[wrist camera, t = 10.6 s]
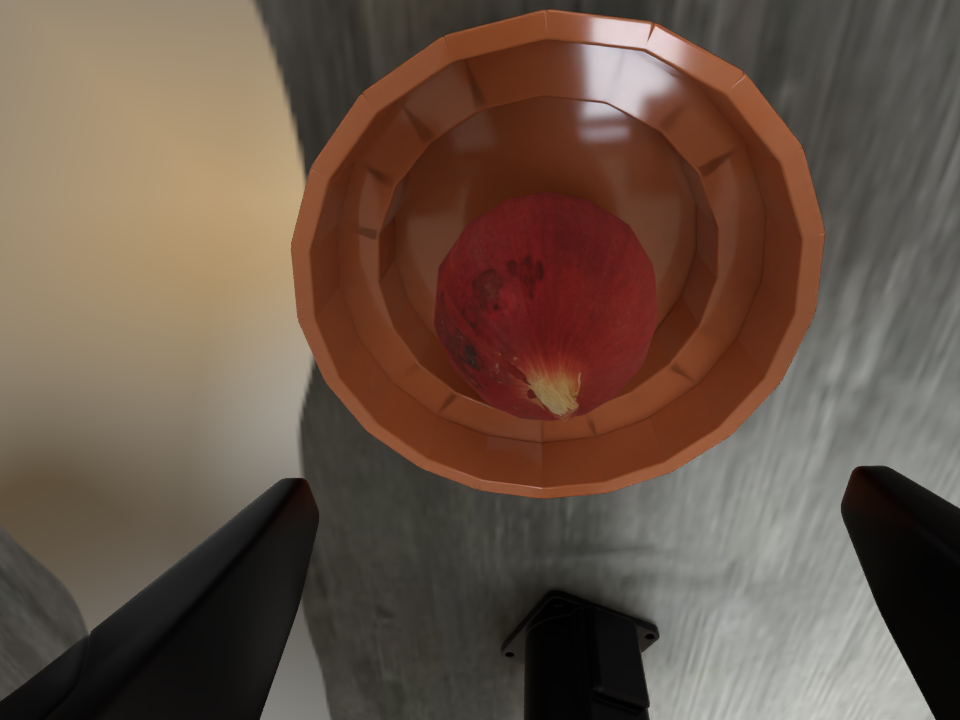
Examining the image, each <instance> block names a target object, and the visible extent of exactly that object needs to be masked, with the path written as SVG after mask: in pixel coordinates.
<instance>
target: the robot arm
mask: <svg viewBox="0 0 960 720" xmlns="http://www.w3.org/2000/svg"><path fill="white" fill-rule="evenodd" d="M841 513H842V518H843V521H844V523H845V526H846V528H847V531H848V533H849V536H850V538H851V541H852V543H853V546H854V549H855V551H856V554H857V556H858V559H859V561H860V564H861V566H862V569H863V571H864V574H865V577H866V579H867V582H868V584H869V587H870V589H871V592H872V594H873V597H874V599H875V601H876V604H877V606H878V608H879V611H880V613H881V615H882V617H883V619H884V621H885V623H886V625H887V627H888V629H889V631H890V633H891V635H892V637H893V639H894V641H895V643H896V644H897V646H898V648H899V650H900V652H901V654H902V656H903V658H904V660H905V662H906V664H907V666H908V667H909V669H910V671H911V673H912V675H913V677H914V679H915V681H916V683H917V685H918V687H919V689H920V690H921V692H922V694H923V696H924V698H925V700H926V702H927V704H928V706H929V708H930V710H931V712H932V714H933V715H934V717H935V719H936V720H960V508H958V507H956V506H954V505H953V504H951V503H949V502H948V501H946V500H944V499H943V498H941V497H939V496H937V495H936V494H934V493H932V492H931V491H929V490H927V489H926V488H924V487H922V486H920V485H919V484H917V483H915V482H914V481H912V480H910V479H908V478H907V477H905V476H903V475H902V474H900V473H898V472H897V471H895V470H893V469H891V468H889V467H886V466H859V467H856V468H855V469H854V470H853V471H852V474H851V476H850V479H849V482H848V485H847V488H846V491H845V494H844V496H843V499H842V503H841ZM318 524H319V511H318V507H317V505H316V502H315V499H314V497H313V494H312V492H311V489H310V486H309V484H308V482H307V481H306V480H305V479H303V478H285V479H282V480H280V481H278V482H277V483H275V484H274V485H273V486H272V487H270V488H269V489H268V490H267V491H266V492H264V493H263V494H262V495H260V496H259V497H258V498H257V499H256V500H254V501H253V502H252V503H251V504H249V505H248V506H247V507H246V508H244V509H243V510H242V511H241V512H239V513H238V514H237V515H236V516H234V517H233V518H232V519H231V520H229V521H228V522H227V523H226V524H224V525H223V526H222V527H221V528H219V529H218V530H217V531H216V532H215V533H213V534H212V535H211V536H209V537H208V538H207V539H206V540H204V541H203V542H202V543H201V544H200V545H198V546H197V547H196V548H194V549H193V550H192V551H191V552H189V553H188V554H187V555H186V556H184V557H183V558H182V559H181V560H179V561H178V562H177V563H176V564H174V565H173V566H172V567H171V568H169V569H168V570H167V571H166V572H164V573H163V574H162V575H161V576H159V577H158V578H157V579H156V580H155V581H153V582H152V583H151V584H149V585H148V586H147V587H146V588H144V589H143V590H142V591H141V592H139V593H138V594H137V595H136V596H135V597H133V598H132V599H131V600H130V601H128V602H127V603H126V604H125V605H123V606H122V607H121V608H120V609H118V610H117V611H116V612H115V613H113V614H112V615H111V616H110V617H108V618H107V619H106V620H105V621H103V622H102V623H101V624H100V625H98V626H97V627H96V628H95V629H93V630H92V631H91V633H90V635H86V636H84V637H83V638H82V639H81V640H79V641H78V642H77V643H76V644H74V645H73V646H72V647H71V648H69V649H68V650H67V651H66V652H64V653H63V654H62V655H61V656H59V657H58V658H57V659H56V660H54V661H53V662H52V663H50V664H49V665H48V666H47V667H45V668H44V669H43V670H41V671H40V672H39V673H38V674H36V675H35V676H34V677H32V678H31V679H30V680H29V681H27V682H26V683H25V684H23V685H22V686H21V687H19V688H18V689H17V690H15V691H14V692H13V693H11V694H10V695H9V696H7V697H6V698H5V699H3V700H2V701H0V720H260V717H261V714H262V711H263V708H264V705H265V702H266V700H267V697H268V694H269V691H270V688H271V685H272V682H273V679H274V677H275V674H276V671H277V668H278V665H279V662H280V660H281V657H282V654H283V651H284V648H285V645H286V642H287V639H288V636H289V634H290V631H291V628H292V625H293V622H294V619H295V616H296V613H297V610H298V607H299V604H300V600H301V596H302V592H303V588H304V584H305V579H306V575H307V571H308V567H309V562H310V558H311V554H312V550H313V545H314V541H315V537H316V532H317V528H318ZM658 638H659V631H658V627H657V626H656V625H654V624H651V623H648V622H646V621H643V620H640V619H637V618H634V617H632V616H629V615H626V614H623V613H620V612H618V611H615V610H612V609H609V608H606V607H603V606H601V605H598V604H595V603H592V602H589V601H587V600H584V599H581V598H578V597H575V596H573V595H570V594H567V593H564V592H561V591H550V592H549V593H547V595H546V596H545V597H544V598H543V599H542V600H541V601H540V603H539V604H538V605H537V606H536V607H535V608H534V609H533V610H532V612H531V613H530V614H529V615H528V616H527V617H526V618H525V620H524V621H523V622H522V623H521V624H520V625H519V626H518V627H517V629H516V630H515V631H514V632H513V633H512V634H511V635H510V637H509V638H508V639H507V640H506V641H505V642H504V643H503V645H502V646H501V655H502V656H503V657H504V658H506V659H509V660H512V661H515V662H518V663H521V664H524V665H525V686H524V720H650V719H649V713H648V708H649V706H650V701H649V695H648V690H647V684H646V678H645V673H644V667H643V661H642V655H641V653H642V652H643V651H645V650H646V649H647V648H648V647H649V646H650V645H652V644H653V643H654V642H655V641H656V640H658Z"/></svg>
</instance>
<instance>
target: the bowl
mask: <svg viewBox="0 0 960 720" xmlns="http://www.w3.org/2000/svg"><path fill="white" fill-rule="evenodd" d="M546 191H548V192H553V193H558V194H564V195H569V196H574V197H580V198H585V199H587V200H589V201H591V202H593V203H594V204H596V205H597V206H599V207H601V208H602V209H604V210H606V211H607V212H609V213H611V214H612V215H614V216H616V217H617V218H619V219H620V220H622V221H624V222H625V223H627V224H629V225H630V227H631V228H632V230H633V232H634V233H635V235H636V237H637V238H638V240H639V242H640V243H641V245H642V247H643V248H644V250H645V252H646V253H647V255H648V257H649V258H650V260H651V262H652V264H653V268H654V273H655V281H656V296H657V310H658V321H657V324H656V327H655V330H654V333H653V336H652V339H651V343H650V346H649V349H648V352H647V355H646V358H645V360H644V362H643V364H642V366H641V367H640V368H639V370H638V371H637V372H636V373H635V374H634V375H633V377H632V378H631V379H630V380H629V381H628V382H627V384H626V385H625V386H624V387H623V388H622V389H621V391H620V392H619V393H618V394H617V395H616V396H615V397H614V398H612V399H611V400H609V401H607V402H606V403H604V404H602V405H600V406H599V407H597V408H595V409H594V410H592V411H590V412H589V413H587V414H585V415H582V416H576V417H573V418H571V419H569V420H567V421H565V422H564V421H562V420H555V421H543V420H532V419H521V418H518V417H516V416H513V415H511V414H508V413H506V412H504V411H501V410H499V409H497V408H494V407H492V406H491V405H489V404H487V403H486V402H485V401H484V400H483V399H482V398H481V397H480V396H479V395H478V394H477V393H476V391H475V390H474V389H473V388H472V387H470V386H469V385H468V384H467V383H466V382H465V381H464V380H463V379H462V378H461V377H460V376H459V375H458V374H457V373H456V372H454V370H453V367H452V365H451V363H450V361H449V359H448V357H447V355H446V353H445V351H444V349H443V346H442V344H441V342H440V340H439V338H438V335H437V332H436V330H435V327H434V312H435V301H436V290H437V280H438V270H439V266H440V264H441V263H442V261H443V260H444V258H445V257H446V255H447V254H448V252H449V251H450V249H451V248H452V246H453V245H454V243H455V242H456V240H457V239H458V237H459V236H460V234H461V233H462V231H463V230H464V229H465V228H466V227H467V225H468V224H469V223H470V222H471V221H473V220H474V219H476V218H477V217H479V216H481V215H482V214H484V213H485V212H487V211H488V210H490V209H492V208H493V207H495V206H496V205H498V204H500V203H501V202H503V201H504V200H506V199H509V198H514V197H519V196H525V195H530V194H535V193H541V192H546ZM824 232H825V228H824V225H823V221H822V217H821V213H820V209H819V205H818V202H817V198H816V194H815V190H814V186H813V183H812V179H811V175H810V171H809V167H808V164H807V160H806V156H805V152H804V149H803V148H802V145H801V143H800V142H799V141H798V140H797V138H796V137H795V136H794V134H793V133H792V132H791V131H790V129H789V128H788V127H787V125H786V124H785V123H784V122H783V120H782V119H781V118H780V116H779V115H778V114H777V113H776V111H775V110H774V109H773V107H772V106H771V105H770V104H769V102H768V101H767V100H766V98H765V97H764V96H763V95H762V93H761V92H760V91H759V89H758V88H757V87H756V86H755V84H754V83H753V82H752V80H751V79H750V78H749V77H748V75H747V74H746V73H743V71H742V70H741V69H739V68H737V67H735V66H734V65H732V64H730V63H728V62H726V61H725V60H723V59H721V58H719V57H717V56H716V55H714V54H712V53H710V52H708V51H707V50H705V49H703V48H701V47H699V46H697V45H696V44H694V43H692V42H690V41H688V40H687V39H685V38H683V37H681V36H679V35H678V34H676V33H674V32H672V31H670V30H669V29H667V28H665V27H663V26H661V25H660V24H658V23H653V22H652V21H646V20H638V19H629V18H621V17H613V16H604V15H596V14H587V13H579V12H571V11H562V10H554V9H548V10H547V11H546V10H540V11H536V12H532V13H528V14H524V15H520V16H516V17H512V18H508V19H505V20H501V21H497V22H493V23H489V24H485V25H481V26H477V27H473V28H469V29H466V30H462V31H458V32H454V33H450V34H446V35H445V36H444V37H440V38H439V39H437V40H436V41H434V42H433V43H431V44H430V45H429V46H427V47H426V48H424V49H423V50H422V51H420V52H419V53H417V54H416V55H414V56H413V57H412V58H410V59H409V60H407V61H406V62H404V63H403V64H402V65H400V66H399V67H397V68H396V69H394V70H393V71H392V72H390V73H389V74H387V75H386V76H385V77H383V78H382V79H380V80H379V81H377V82H376V83H375V84H373V85H372V86H370V87H369V88H367V89H366V90H365V91H363V94H361V95H360V96H359V97H358V98H357V100H356V101H355V103H354V104H353V106H352V107H351V109H350V110H349V112H348V113H347V115H346V116H345V117H344V119H343V120H342V122H341V123H340V125H339V126H338V128H337V129H336V131H335V132H334V134H333V135H332V136H331V138H330V139H329V141H328V142H327V144H326V145H325V147H324V148H323V150H322V151H321V153H320V154H319V155H318V157H317V158H316V160H315V161H314V163H313V164H312V167H311V169H310V171H309V175H308V179H307V183H306V187H305V191H304V195H303V199H302V203H301V207H300V211H299V215H298V219H297V223H296V227H295V231H294V235H293V239H292V242H291V246H292V247H291V254H292V265H293V275H294V286H295V296H296V306H297V317H298V319H299V324H300V326H301V328H302V330H303V333H304V335H305V337H306V340H307V342H308V344H309V346H310V349H311V351H312V353H313V356H314V358H315V360H316V362H317V365H318V367H319V369H320V371H321V374H322V376H323V378H324V380H325V381H326V384H327V385H328V386H329V387H330V388H331V389H332V391H333V392H334V393H335V394H336V395H337V397H338V398H339V399H340V400H341V401H342V402H343V404H344V405H345V406H346V407H347V408H348V410H349V411H350V412H351V413H352V414H353V415H354V417H355V418H356V419H357V420H358V421H359V423H360V424H361V425H362V426H363V427H364V428H365V430H366V431H368V432H369V433H370V434H371V435H373V436H374V437H376V438H377V439H379V440H380V441H382V442H383V443H384V444H386V445H387V446H389V447H390V448H392V449H393V450H395V451H396V452H397V453H399V454H400V455H402V456H403V457H405V458H406V459H408V460H409V461H411V462H412V463H413V464H415V465H416V466H418V467H421V469H424V470H427V471H429V472H432V473H435V474H437V475H440V476H443V477H445V478H448V479H450V480H453V481H456V482H458V483H461V484H464V485H466V486H469V487H472V488H474V489H477V490H480V491H487V492H495V493H502V494H509V495H517V496H524V497H532V498H539V499H542V498H543V499H547V498H558V497H570V496H581V495H592V494H603V493H607V492H612V491H615V490H618V489H621V488H625V487H628V486H631V485H634V484H637V483H640V482H643V481H646V480H649V479H652V478H655V477H658V476H661V475H664V474H668V473H670V472H673V471H675V470H676V469H678V468H679V467H681V466H683V465H684V464H686V463H688V462H689V461H691V460H692V459H694V458H696V457H697V456H699V455H701V454H702V453H704V452H705V451H707V450H709V449H710V448H712V447H714V446H715V445H717V444H718V443H720V442H722V441H723V440H725V439H726V438H728V437H730V435H732V434H733V433H734V432H735V431H736V430H737V429H738V428H739V427H740V426H741V425H742V423H743V422H744V421H745V420H746V419H747V418H748V417H749V416H750V415H751V414H752V413H753V412H754V411H755V410H756V409H757V408H758V407H759V405H760V404H761V403H762V402H763V401H764V400H765V399H766V398H767V397H768V396H769V395H770V394H771V393H772V392H773V391H774V390H775V389H776V387H777V386H778V385H779V384H780V381H782V380H783V378H784V376H785V374H786V372H787V370H788V368H789V366H790V364H791V362H792V360H793V358H794V356H795V354H796V352H797V350H798V348H799V346H800V344H801V342H802V340H803V338H804V336H805V334H806V331H807V329H808V327H809V325H810V323H811V321H812V319H813V317H814V313H815V312H816V305H817V297H818V289H819V281H820V273H821V264H822V256H823V248H824V240H825V233H824Z"/></svg>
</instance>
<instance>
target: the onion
mask: <svg viewBox="0 0 960 720" xmlns="http://www.w3.org/2000/svg"><path fill="white" fill-rule="evenodd" d="M657 321H658V310H657V296H656V281H655V273H654V268H653V264H652V262H651V260H650V258H649V257H648V255H647V253H646V252H645V250H644V248H643V247H642V245H641V243H640V242H639V240H638V238H637V237H636V235H635V233H634V232H633V230H632V228H631V227H630V225H629V224H627V223H625V222H624V221H622V220H620V219H619V218H617V217H616V216H614V215H612V214H611V213H609V212H607V211H606V210H604V209H602V208H601V207H599V206H597V205H596V204H594V203H593V202H591V201H589V200H587V199H585V198H580V197H574V196H569V195H564V194H558V193H553V192H548V191H546V192H541V193H535V194H530V195H525V196H519V197H514V198H509V199H506V200H504V201H503V202H501V203H500V204H498V205H496V206H495V207H493V208H492V209H490V210H488V211H487V212H485V213H484V214H482V215H481V216H479V217H477V218H476V219H474V220H473V221H471V222H470V223H469V224H468V225H467V227H466V228H465V229H464V230H463V231H462V233H461V234H460V236H459V237H458V239H457V240H456V242H455V243H454V245H453V246H452V248H451V249H450V251H449V252H448V254H447V255H446V257H445V258H444V260H443V261H442V263H441V264H440V266H439V270H438V280H437V290H436V301H435V312H434V327H435V330H436V332H437V335H438V338H439V340H440V342H441V344H442V346H443V349H444V351H445V353H446V355H447V357H448V359H449V361H450V363H451V365H452V367H453V370H454V372H456V373H457V374H458V375H459V376H460V377H461V378H462V379H463V380H464V381H465V382H466V383H467V384H468V385H469V386H470V387H472V388H473V389H474V390H475V391H476V393H477V394H478V395H479V396H480V397H481V398H482V399H483V400H484V401H485V402H486V403H487V404H489V405H491V406H492V407H494V408H497V409H499V410H501V411H504V412H506V413H508V414H511V415H513V416H516V417H518V418H521V419H532V420H543V421H555V420H562V421H564V422H565V421H567V420H569V419H571V418H573V417H576V416H582V415H585V414H587V413H589V412H590V411H592V410H594V409H595V408H597V407H599V406H600V405H602V404H604V403H606V402H607V401H609V400H611V399H612V398H614V397H615V396H616V395H617V394H618V393H619V392H620V391H621V389H622V388H623V387H624V386H625V385H626V384H627V382H628V381H629V380H630V379H631V378H632V377H633V375H634V374H635V373H636V372H637V371H638V370H639V368H640V367H641V366H642V364H643V362H644V360H645V358H646V355H647V352H648V349H649V346H650V343H651V339H652V336H653V333H654V330H655V327H656V324H657Z"/></svg>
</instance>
